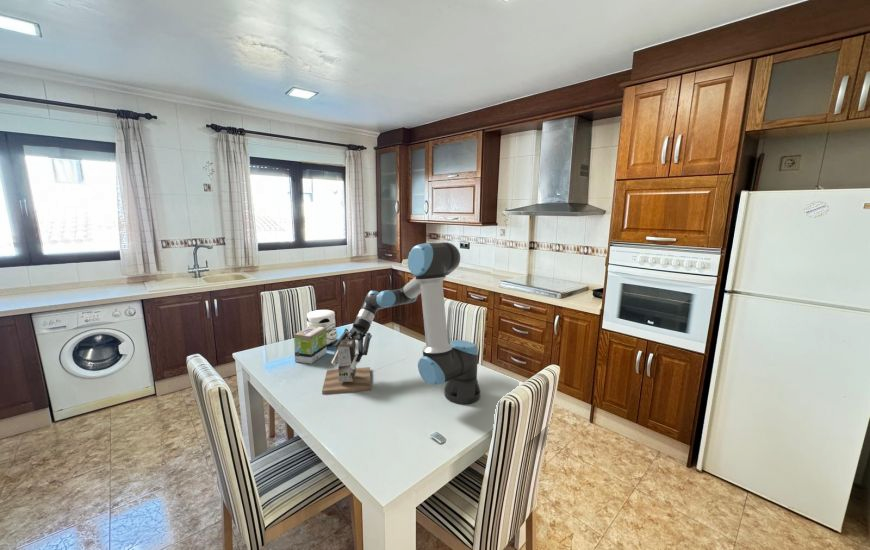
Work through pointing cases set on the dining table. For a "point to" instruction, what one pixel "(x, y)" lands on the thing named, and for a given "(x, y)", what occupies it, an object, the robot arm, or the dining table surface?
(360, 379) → the tan board
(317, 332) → the tea box
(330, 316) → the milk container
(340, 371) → the coffee box
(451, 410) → the dining table surface
